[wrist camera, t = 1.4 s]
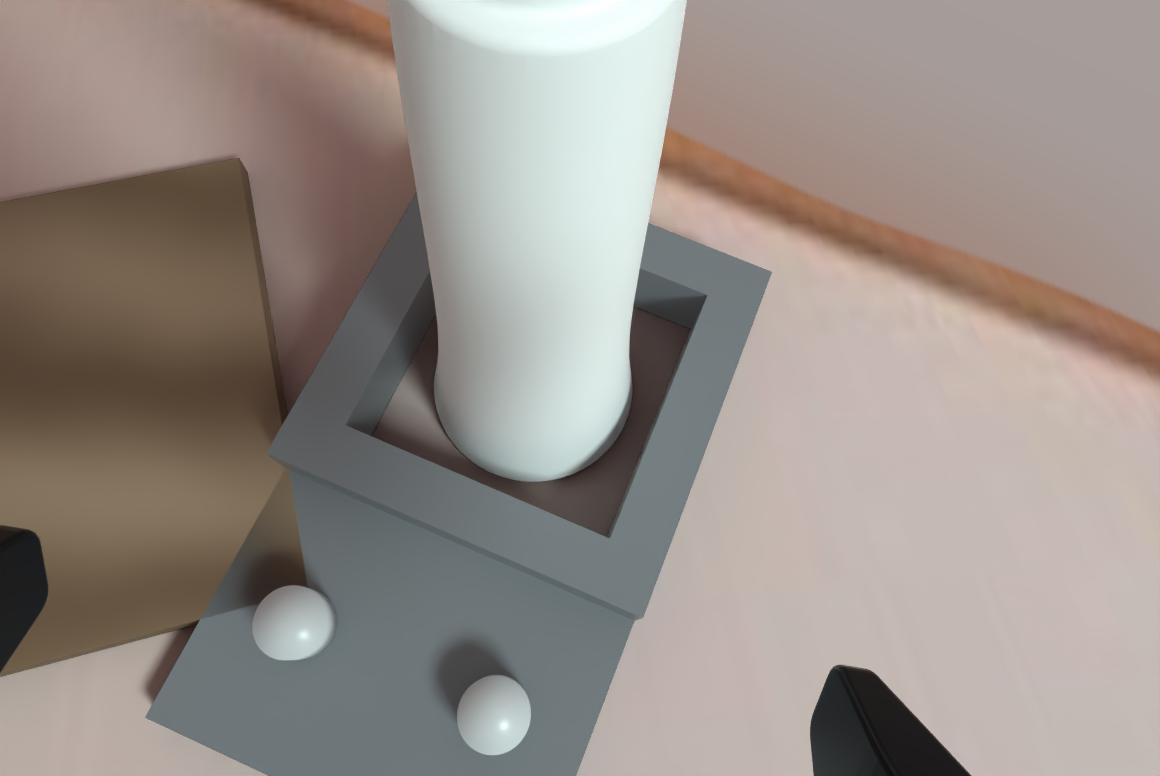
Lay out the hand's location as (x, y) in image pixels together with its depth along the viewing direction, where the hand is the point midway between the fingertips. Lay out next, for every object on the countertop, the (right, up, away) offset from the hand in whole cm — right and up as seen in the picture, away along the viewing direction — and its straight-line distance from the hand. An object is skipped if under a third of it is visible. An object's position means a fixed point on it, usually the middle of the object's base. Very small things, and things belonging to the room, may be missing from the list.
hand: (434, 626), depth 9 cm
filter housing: (-1, 0, +14) cm, 14 cm away
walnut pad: (-13, +2, +14) cm, 19 cm away
